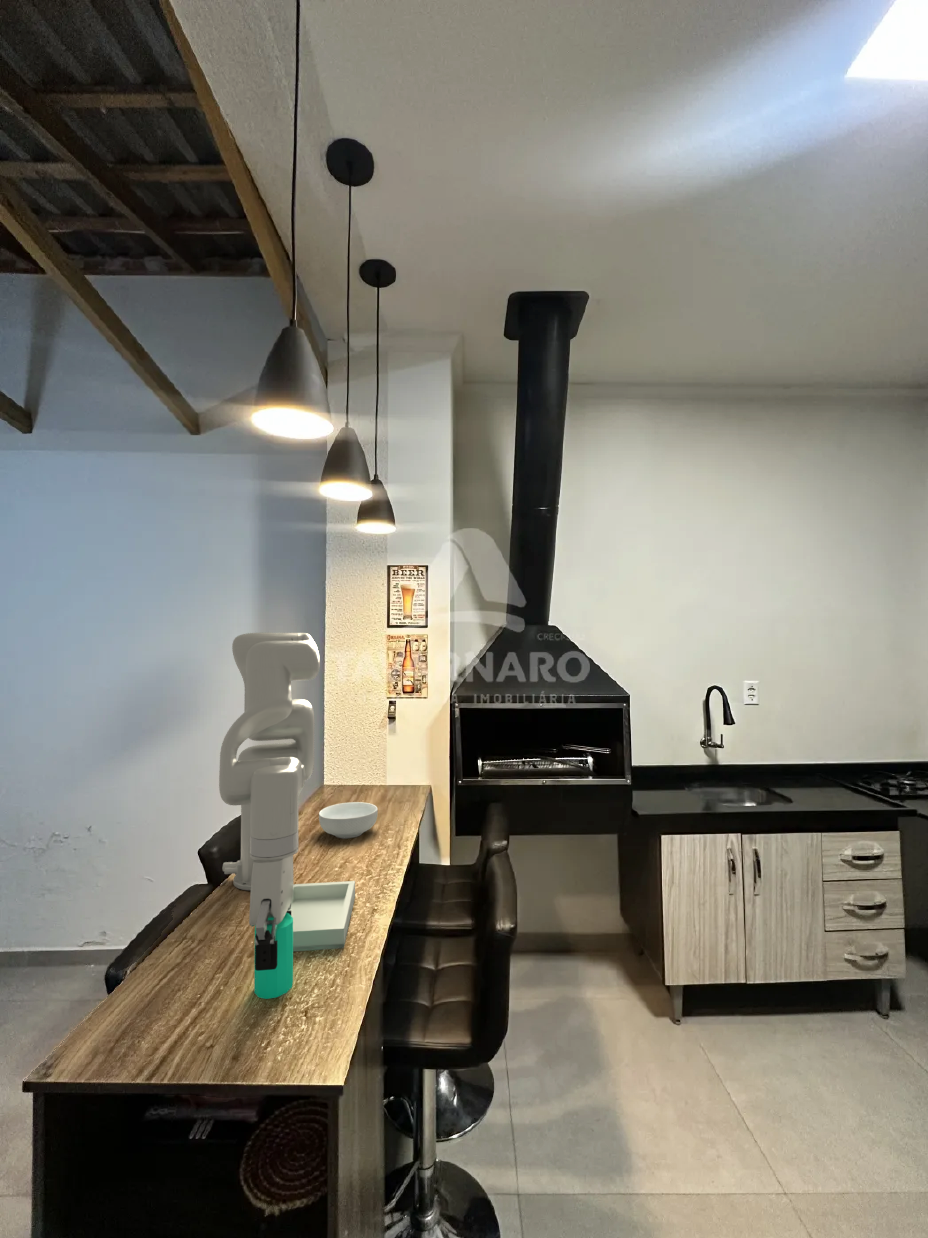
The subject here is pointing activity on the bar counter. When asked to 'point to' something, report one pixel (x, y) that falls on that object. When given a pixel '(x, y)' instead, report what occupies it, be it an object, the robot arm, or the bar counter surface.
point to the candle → (282, 976)
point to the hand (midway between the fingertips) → (274, 951)
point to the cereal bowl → (348, 819)
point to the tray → (321, 914)
